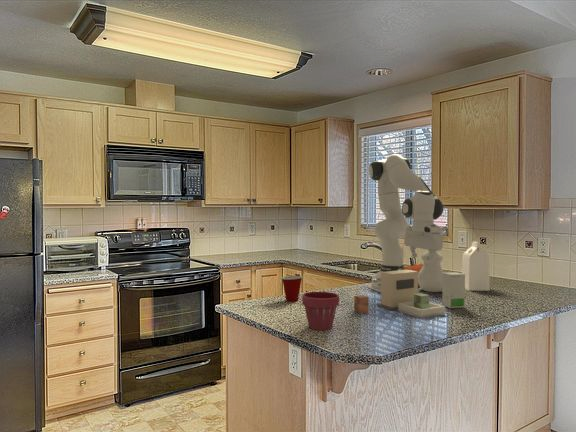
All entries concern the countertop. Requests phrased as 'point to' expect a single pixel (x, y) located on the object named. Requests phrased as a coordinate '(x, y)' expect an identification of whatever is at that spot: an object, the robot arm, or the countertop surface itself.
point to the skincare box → (453, 290)
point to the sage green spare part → (421, 301)
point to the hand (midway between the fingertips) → (421, 258)
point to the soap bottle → (431, 273)
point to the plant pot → (320, 309)
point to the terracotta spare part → (361, 304)
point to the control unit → (398, 288)
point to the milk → (476, 268)
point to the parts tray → (421, 310)
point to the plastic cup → (292, 287)
